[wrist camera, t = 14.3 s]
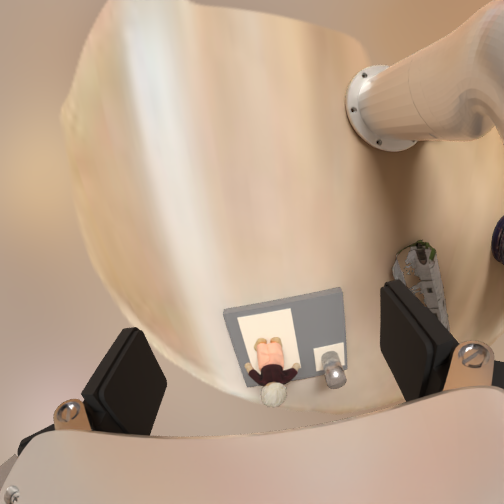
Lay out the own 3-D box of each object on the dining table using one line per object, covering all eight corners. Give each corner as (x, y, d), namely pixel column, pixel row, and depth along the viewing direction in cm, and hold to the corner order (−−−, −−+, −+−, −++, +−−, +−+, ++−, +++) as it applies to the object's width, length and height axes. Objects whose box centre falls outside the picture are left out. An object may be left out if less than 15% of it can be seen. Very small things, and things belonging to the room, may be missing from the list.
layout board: (340, 287, 43) (342, 292, 41) (345, 363, 48) (347, 370, 46) (224, 309, 45) (222, 315, 43) (247, 381, 50) (246, 388, 48)
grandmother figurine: (250, 357, 46) (247, 416, 34) (244, 339, 44) (240, 398, 32) (297, 348, 45) (306, 407, 33) (293, 330, 44) (303, 388, 32)
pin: (338, 349, 45) (346, 373, 39) (338, 362, 46) (346, 386, 40) (320, 353, 45) (326, 377, 39) (321, 366, 46) (327, 390, 40)
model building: (398, 237, 43) (428, 339, 50) (385, 263, 39) (418, 366, 46) (439, 232, 37) (459, 340, 44) (431, 259, 33) (451, 369, 41)
